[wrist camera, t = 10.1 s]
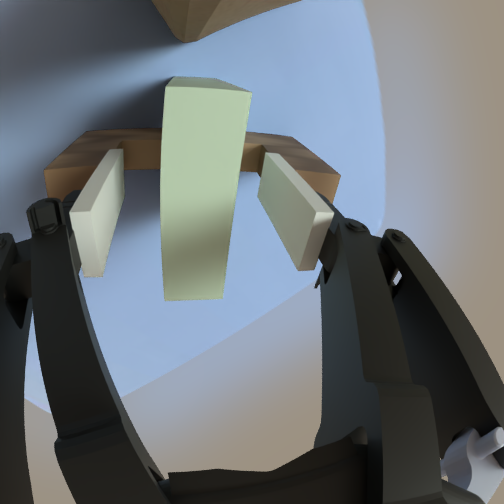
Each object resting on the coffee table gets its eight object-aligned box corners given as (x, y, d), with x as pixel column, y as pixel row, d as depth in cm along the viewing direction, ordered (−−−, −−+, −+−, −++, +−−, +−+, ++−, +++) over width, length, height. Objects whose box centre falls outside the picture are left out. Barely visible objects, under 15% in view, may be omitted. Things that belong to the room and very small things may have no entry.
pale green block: (202, 200, 23) (222, 298, 15) (166, 200, 22) (164, 300, 14) (216, 78, 17) (252, 92, 9) (174, 76, 16) (165, 86, 8)
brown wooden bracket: (87, 156, 18) (49, 204, 12) (86, 131, 17) (43, 169, 11) (287, 159, 23) (331, 205, 16) (292, 136, 21) (340, 175, 15)
